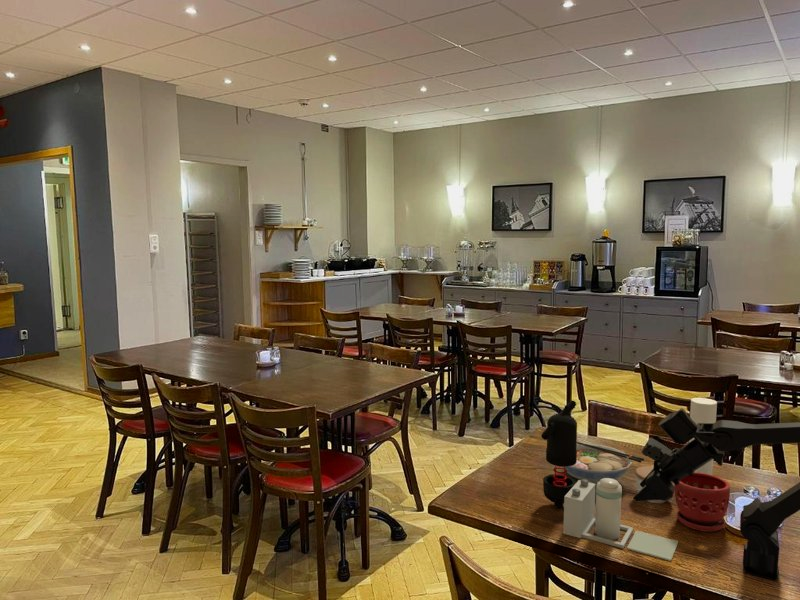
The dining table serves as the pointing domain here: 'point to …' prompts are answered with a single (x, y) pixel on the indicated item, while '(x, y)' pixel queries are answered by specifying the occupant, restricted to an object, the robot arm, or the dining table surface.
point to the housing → (585, 514)
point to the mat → (653, 545)
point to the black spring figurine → (560, 453)
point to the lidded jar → (641, 474)
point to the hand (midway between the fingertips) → (637, 492)
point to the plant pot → (702, 502)
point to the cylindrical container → (703, 413)
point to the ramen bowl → (600, 463)
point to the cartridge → (608, 509)
